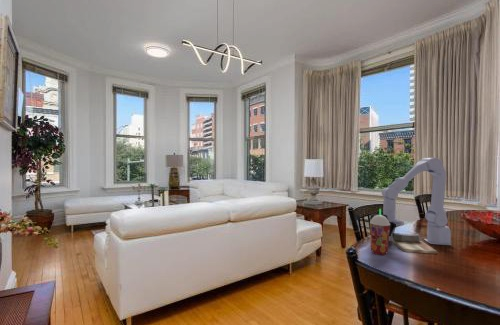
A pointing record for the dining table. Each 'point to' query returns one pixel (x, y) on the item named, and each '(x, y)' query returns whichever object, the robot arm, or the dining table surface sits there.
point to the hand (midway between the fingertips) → (388, 236)
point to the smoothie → (379, 234)
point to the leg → (406, 237)
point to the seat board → (414, 247)
